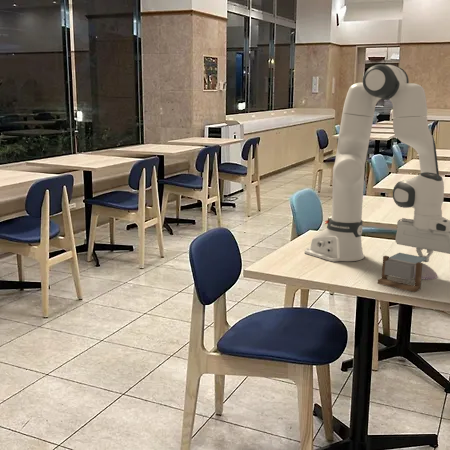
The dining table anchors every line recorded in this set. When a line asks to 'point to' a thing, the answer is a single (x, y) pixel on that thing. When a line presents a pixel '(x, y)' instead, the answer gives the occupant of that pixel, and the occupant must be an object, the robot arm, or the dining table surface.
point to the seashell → (426, 272)
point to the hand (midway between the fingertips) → (423, 261)
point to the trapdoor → (402, 265)
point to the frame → (400, 285)
